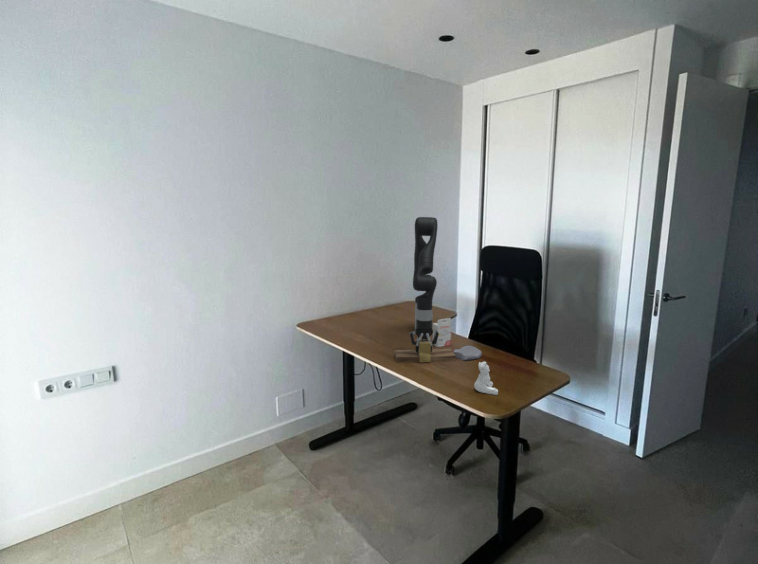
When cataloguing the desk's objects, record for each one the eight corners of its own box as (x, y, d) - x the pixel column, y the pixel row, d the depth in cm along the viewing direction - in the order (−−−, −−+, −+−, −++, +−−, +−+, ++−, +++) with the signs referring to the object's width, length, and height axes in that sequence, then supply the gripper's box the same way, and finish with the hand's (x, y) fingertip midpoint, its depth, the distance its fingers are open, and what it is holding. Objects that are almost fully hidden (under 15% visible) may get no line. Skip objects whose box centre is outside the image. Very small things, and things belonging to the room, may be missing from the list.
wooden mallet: (415, 351, 211) (415, 333, 210) (425, 351, 212) (425, 333, 210) (419, 362, 197) (420, 343, 195) (430, 362, 197) (430, 343, 195)
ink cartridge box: (445, 342, 226) (446, 315, 223) (450, 345, 222) (451, 317, 219) (431, 344, 222) (432, 317, 220) (437, 347, 218) (437, 319, 215)
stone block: (483, 360, 205) (467, 350, 213) (484, 351, 204) (469, 342, 211) (466, 366, 199) (451, 356, 206) (468, 358, 197) (452, 348, 204)
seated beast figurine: (499, 395, 164) (501, 366, 162) (477, 396, 164) (478, 367, 161) (491, 385, 173) (493, 357, 171) (471, 385, 173) (472, 357, 171)
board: (394, 354, 208) (394, 349, 207) (450, 353, 209) (451, 348, 209) (396, 362, 198) (396, 357, 197) (455, 360, 200) (455, 355, 199)
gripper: (437, 315, 201) (437, 349, 205) (408, 316, 201) (407, 350, 204) (441, 320, 194) (440, 355, 197) (410, 320, 193) (409, 355, 196)
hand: (423, 352), depth 201 cm, fingers closed on wooden mallet, 5 cm apart
